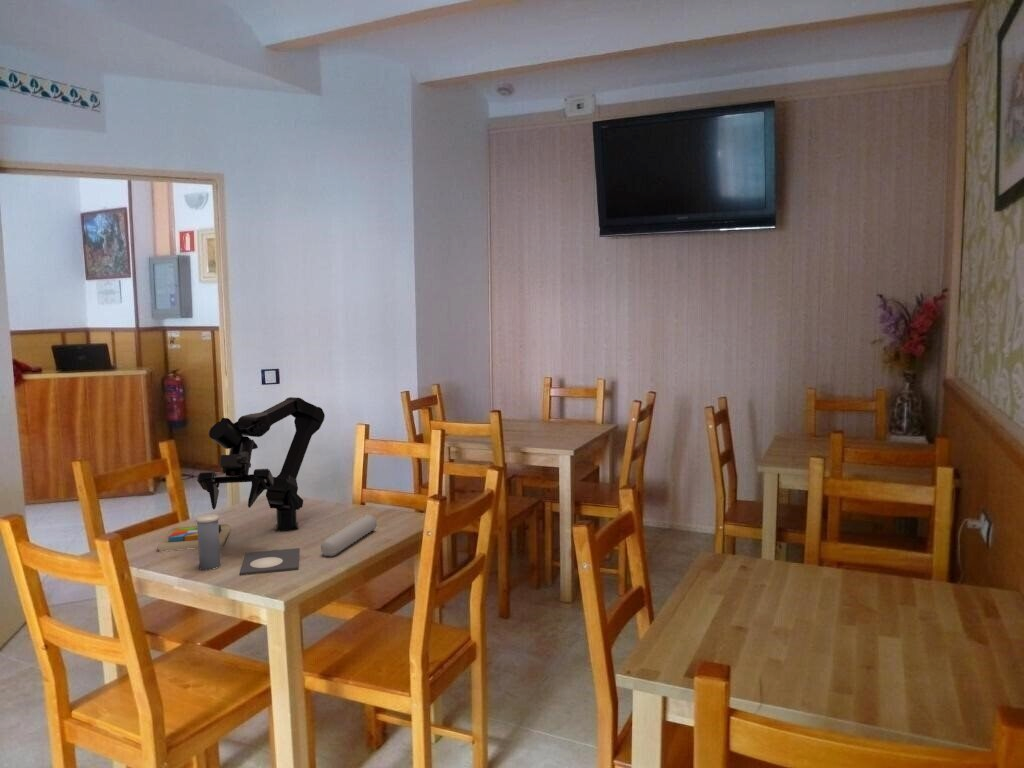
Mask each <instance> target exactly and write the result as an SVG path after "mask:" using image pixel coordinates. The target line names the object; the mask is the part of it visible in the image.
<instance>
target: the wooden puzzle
mask: <svg viewBox="0 0 1024 768" xmlns="http://www.w3.org/2000/svg"><path fill="white" fill-rule="evenodd" d="M218 526H219V545H220V546H222V547H224V545H225V543H226V540H227V539H228V536H229V535H230V533H231V532H232V531H231V530H232V526H231V525H230V524H229V523H227V522H226V523H218ZM187 548H198V530H197V525H188V526H186V525H185V526H177V527H173V528H171V529H169V531H168V533H167V535H165V537H164V538H163V539H162V540H161V541H160V542H159V543H158V545H157V550H158V552H159V551H166V550H175V549H187Z"/></svg>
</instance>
